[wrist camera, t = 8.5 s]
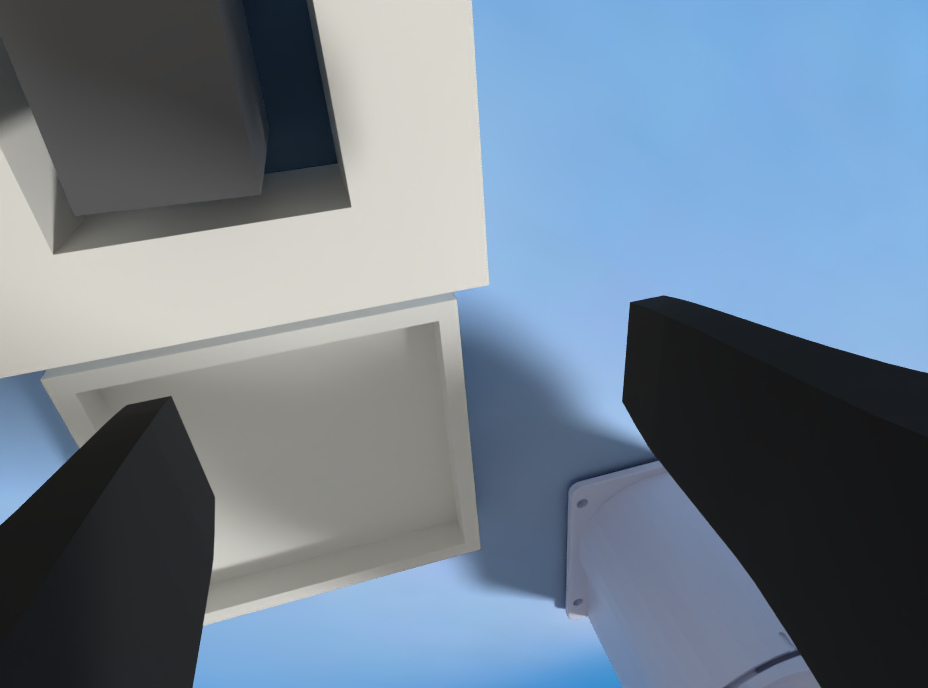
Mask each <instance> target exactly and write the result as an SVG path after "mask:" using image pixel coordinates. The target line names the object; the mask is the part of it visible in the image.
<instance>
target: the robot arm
mask: <svg viewBox="0 0 928 688" xmlns="http://www.w3.org/2000/svg"><path fill="white" fill-rule="evenodd" d="M622 402H623V404H624V405H625V407H626V409H627V411H628V413H629V414H630V416H631V418H632V420H633V422H634V423H635V425H636V427H637V429H638V430H639V432H640V433H641V435H642V437H643V438H644V440H645V442H646V443H647V445H648V447H649V448H650V450H651V451H652V452H653V454H654V455H655V456H656V458H657V459H658V460H659V461H655V462H652V463H648V464H644V465H640V466H636V467H632V468H629V469H625V470H621V471H617V472H613V473H609V474H606V475H602V476H598V477H594V478H590V479H587V480H583V481H579V482H577V483H575V484H573V485H572V486H571V488H570V489H569V492H568V533H567V574H566V614H567V616H568V618H569V619H570V620H578V619H581V618H584V617H587V616H588V618H589V620H590V622H591V624H592V626H593V628H594V630H595V632H596V634H597V636H598V638H599V640H600V642H601V644H602V646H603V648H604V650H605V652H606V654H607V656H608V658H609V661H610V663H611V665H612V667H613V669H614V671H615V673H616V675H617V677H618V679H619V681H620V683H621V685H622V687H623V688H928V373H925V372H920V371H916V370H912V369H908V368H904V367H900V366H896V365H892V364H888V363H884V362H881V361H877V360H874V359H870V358H867V357H863V356H860V355H856V354H853V353H849V352H846V351H842V350H839V349H835V348H832V347H828V346H825V345H822V344H819V343H816V342H812V341H809V340H806V339H803V338H800V337H796V336H793V335H790V334H787V333H784V332H781V331H778V330H775V329H772V328H769V327H766V326H763V325H760V324H757V323H754V322H751V321H748V320H745V319H742V318H739V317H736V316H733V315H730V314H727V313H724V312H721V311H718V310H715V309H712V308H708V307H705V306H702V305H699V304H696V303H692V302H689V301H685V300H681V299H677V298H673V297H668V296H659V297H654V298H649V299H644V300H639V301H634V302H630V310H629V322H628V335H627V348H626V360H625V373H624V386H623V399H622ZM214 536H215V496H214V494H213V491H212V489H211V487H210V484H209V482H208V480H207V477H206V475H205V473H204V470H203V468H202V466H201V463H200V461H199V459H198V456H197V454H196V452H195V449H194V447H193V445H192V442H191V440H190V438H189V435H188V433H187V431H186V429H185V426H184V424H183V422H182V419H181V417H180V415H179V412H178V410H177V408H176V405H175V403H174V401H173V398H172V396H168V397H163V398H158V399H153V400H148V401H143V402H139V403H134V404H129V405H126V406H125V407H123V408H122V409H121V410H120V411H119V412H117V413H116V414H115V415H114V416H113V417H112V418H111V419H110V420H109V421H108V422H106V423H105V424H104V425H103V426H102V427H101V428H100V429H99V430H98V431H97V432H96V433H95V434H94V435H93V436H92V437H91V438H90V439H89V440H88V441H87V442H86V443H85V444H84V445H83V446H82V447H81V448H80V449H79V450H78V451H77V452H76V453H75V454H74V455H73V456H72V457H71V458H70V459H69V460H68V461H67V462H66V463H65V464H64V465H63V466H62V467H61V468H60V469H59V470H58V471H56V472H55V473H54V474H53V475H52V476H51V477H50V478H49V479H48V480H47V481H46V482H45V483H44V484H43V485H42V486H41V487H40V488H39V489H38V490H37V491H36V492H35V493H34V494H33V495H32V496H31V497H30V498H29V499H28V500H27V501H26V502H25V503H24V504H23V505H22V506H21V507H20V508H19V509H18V510H17V511H15V512H14V513H13V514H12V515H11V516H10V517H9V518H8V519H7V520H6V521H5V522H3V523H2V524H1V525H0V688H192V687H193V681H194V675H195V669H196V663H197V657H198V652H199V646H200V640H201V634H202V628H203V622H204V616H205V610H206V604H207V598H208V592H209V586H210V579H211V573H212V566H213V560H214Z"/></svg>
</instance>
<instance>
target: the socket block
mask: <svg viewBox="0 0 928 688" xmlns="http://www.w3.org/2000/svg"><path fill="white" fill-rule="evenodd" d="M307 6H308V11H309V16H310V21H311V26H312V32H313V37H314V42H315V47H316V53H317V58H318V63H319V68H320V73H321V79H322V84H323V89H324V94H325V99H326V105H327V110H328V115H329V120H330V126H331V131H332V136H333V141H334V146H335V152H336V157H337V162H338V164H331V165H324V166H317V167H310V168H303V169H296V170H290V171H283V172H276V173H269V174H264V176H263V184H262V192H261V195H255V196H246V197H237V198H228V199H220V200H211V201H202V202H194V203H185V204H176V205H167V206H159V207H150V208H141V209H132V210H124V211H115V212H106V213H98V214H89V215H80V216H74V214H73V211H72V209H71V207H70V204H69V202H68V199H67V197H66V194H65V192H64V189H63V187H62V185H61V182H60V180H59V177H58V175H57V172H56V170H55V167H54V165H53V163H52V160H51V158H50V155H49V153H48V150H47V148H46V145H45V143H44V141H43V138H42V136H41V133H40V131H39V128H38V126H37V123H36V121H35V119H34V116H33V114H32V111H31V109H30V106H29V104H28V101H27V99H26V97H25V94H24V92H23V89H22V87H21V84H20V82H19V79H18V77H17V75H16V72H15V70H14V67H13V65H12V62H11V60H10V57H9V55H8V52H7V50H6V48H5V45H4V43H3V40H2V38H1V35H0V378H5V377H10V376H15V375H20V374H26V373H31V372H36V371H41V370H46V369H52V368H57V367H62V366H67V365H73V364H78V363H83V362H88V361H94V360H99V359H104V358H109V357H114V356H120V355H125V354H130V353H135V352H141V351H146V350H151V349H156V348H162V347H167V346H172V345H177V344H182V343H188V342H193V341H198V340H203V339H209V338H214V337H219V336H224V335H230V334H235V333H240V332H245V331H250V330H256V329H261V328H266V327H271V326H277V325H282V324H287V323H292V322H298V321H303V320H308V319H313V318H318V317H324V316H329V315H334V314H339V313H345V312H350V311H355V310H360V309H366V308H371V307H376V306H381V305H386V304H392V303H397V302H402V301H407V300H413V299H418V298H423V297H428V296H434V295H439V294H444V293H449V292H455V291H460V290H465V289H470V288H475V287H481V286H486V285H489V276H488V259H487V243H486V227H485V211H484V194H483V178H482V162H481V146H480V129H479V113H478V97H477V81H476V65H475V48H474V32H473V16H472V0H307Z"/></svg>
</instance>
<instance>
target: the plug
mask: <svg viewBox="0 0 928 688" xmlns="http://www.w3.org/2000/svg"><path fill="white" fill-rule="evenodd" d="M0 35H1V38H2V40H3V43H4V45H5V48H6V50H7V52H8V55H9V57H10V60H11V62H12V65H13V67H14V70H15V72H16V75H17V77H18V79H19V82H20V84H21V87H22V89H23V92H24V94H25V97H26V99H27V101H28V104H29V106H30V109H31V111H32V114H33V116H34V119H35V121H36V123H37V126H38V128H39V131H40V133H41V136H42V138H43V141H44V143H45V145H46V148H47V150H48V153H49V155H50V158H51V160H52V163H53V165H54V167H55V170H56V172H57V175H58V177H59V180H60V182H61V185H62V187H63V189H64V192H65V194H66V197H67V199H68V202H69V204H70V207H71V209H72V211H73V214H74V216H80V215H89V214H98V213H106V212H115V211H124V210H132V209H141V208H150V207H159V206H167V205H176V204H185V203H194V202H202V201H211V200H220V199H228V198H237V197H246V196H255V195H261V192H262V184H263V176H264V169H265V161H266V153H267V145H268V137H269V130H270V129H269V124H268V119H267V115H266V110H265V105H264V100H263V96H262V91H261V86H260V81H259V76H258V72H257V67H256V62H255V57H254V53H253V48H252V43H251V38H250V33H249V29H248V24H247V19H246V14H245V10H244V5H243V0H0Z"/></svg>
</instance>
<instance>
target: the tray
mask: <svg viewBox="0 0 928 688" xmlns="http://www.w3.org/2000/svg"><path fill="white" fill-rule="evenodd" d="M40 381H41V382H42V384H43V386H44V388H45V389H46V391H47V393H48V395H49V396H50V398H51V400H52V402H53V403H54V405H55V407H56V409H57V410H58V412H59V414H60V415H61V417H62V419H63V421H64V422H65V424H66V426H67V428H68V429H69V431H70V433H71V435H72V436H73V438H74V440H75V442H76V443H77V445H78V447H79V449H80V448H81V447H82V446H83V445H84V444H85V443H86V442H87V441H88V440H89V439H90V438H91V437H92V436H93V435H94V434H95V433H96V432H97V431H98V430H99V429H100V428H101V427H102V426H103V425H104V424H105V423H106V422H108V421H109V420H110V419H111V418H112V417H113V416H114V415H115V414H116V413H117V412H119V411H120V410H121V409H122V408H123V407H125V406H126V405H129V404H134V403H139V402H143V401H148V400H153V399H158V398H163V397H168V396H172V398H173V401H174V403H175V405H176V408H177V410H178V412H179V415H180V417H181V419H182V422H183V424H184V426H185V429H186V431H187V433H188V435H189V438H190V440H191V442H192V445H193V447H194V449H195V452H196V454H197V456H198V459H199V461H200V463H201V466H202V468H203V470H204V473H205V475H206V477H207V480H208V482H209V484H210V487H211V489H212V491H213V494H214V496H215V536H214V560H213V566H212V573H211V579H210V586H209V592H208V598H207V604H206V610H205V616H204V622H203V626H204V625H208V624H212V623H215V622H219V621H222V620H226V619H230V618H233V617H237V616H241V615H244V614H248V613H252V612H255V611H259V610H262V609H266V608H270V607H273V606H277V605H281V604H284V603H288V602H292V601H295V600H299V599H302V598H306V597H310V596H313V595H317V594H321V593H324V592H328V591H332V590H335V589H339V588H343V587H346V586H350V585H353V584H357V583H361V582H364V581H368V580H372V579H375V578H379V577H383V576H386V575H390V574H393V573H397V572H401V571H404V570H408V569H412V568H415V567H419V566H423V565H426V564H430V563H433V562H437V561H441V560H444V559H448V558H452V557H455V556H459V555H463V554H466V553H470V552H473V551H477V550H481V546H480V536H479V525H478V515H477V505H476V494H475V484H474V473H473V463H472V452H471V442H470V432H469V421H468V411H467V400H466V390H465V379H464V369H463V358H462V348H461V338H460V327H459V317H458V306H457V299H456V297H455V295H454V293H453V292H449V293H444V294H439V295H434V296H428V297H423V298H418V299H413V300H407V301H402V302H397V303H392V304H386V305H381V306H376V307H371V308H366V309H360V310H355V311H350V312H345V313H339V314H334V315H329V316H324V317H318V318H313V319H308V320H303V321H298V322H292V323H287V324H282V325H277V326H271V327H266V328H261V329H256V330H250V331H245V332H240V333H235V334H230V335H224V336H219V337H214V338H209V339H203V340H198V341H193V342H188V343H182V344H177V345H172V346H167V347H162V348H156V349H151V350H146V351H141V352H135V353H130V354H125V355H120V356H114V357H109V358H104V359H99V360H94V361H88V362H83V363H78V364H73V365H67V366H62V367H57V368H52V369H47V370H46V372H45V373H44V375H43V376H42V378H41V379H40Z"/></svg>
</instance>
